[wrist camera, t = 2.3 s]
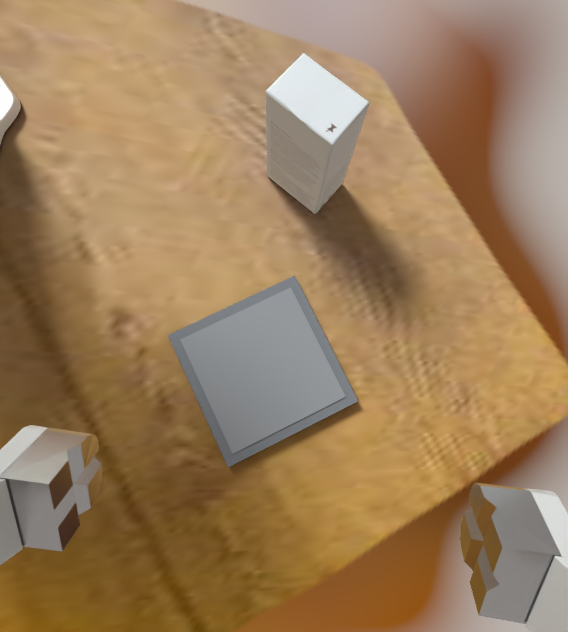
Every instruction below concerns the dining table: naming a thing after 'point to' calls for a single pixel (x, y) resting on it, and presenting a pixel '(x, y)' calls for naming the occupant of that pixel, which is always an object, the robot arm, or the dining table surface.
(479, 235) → the dining table surface
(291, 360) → the plate
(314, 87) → the skincare box
